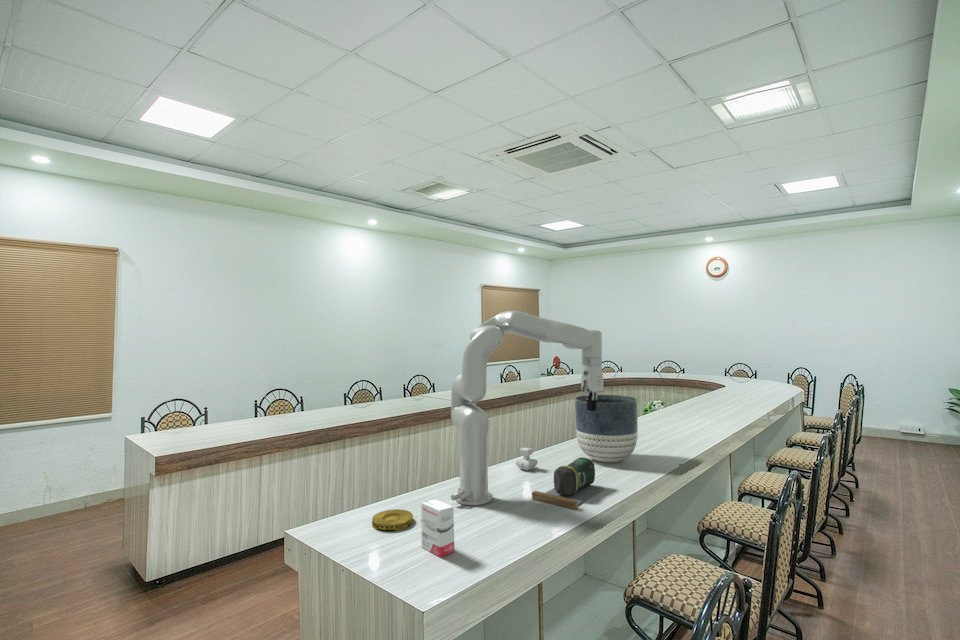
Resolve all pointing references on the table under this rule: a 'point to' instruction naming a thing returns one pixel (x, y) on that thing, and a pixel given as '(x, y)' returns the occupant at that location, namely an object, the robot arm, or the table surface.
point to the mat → (579, 493)
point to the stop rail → (555, 500)
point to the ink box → (437, 527)
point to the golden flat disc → (392, 520)
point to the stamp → (526, 460)
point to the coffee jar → (574, 476)
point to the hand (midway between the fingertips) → (591, 410)
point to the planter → (607, 427)
